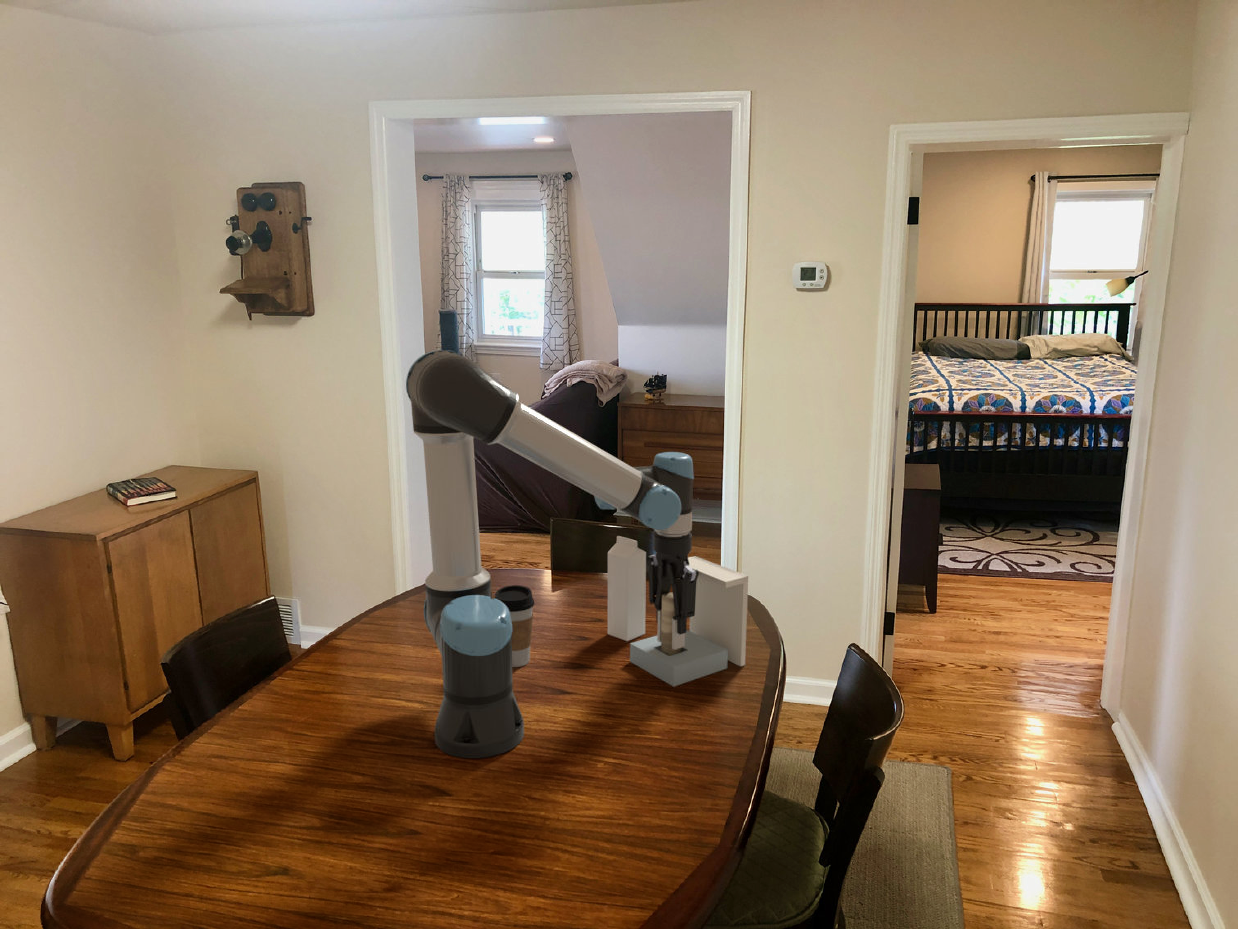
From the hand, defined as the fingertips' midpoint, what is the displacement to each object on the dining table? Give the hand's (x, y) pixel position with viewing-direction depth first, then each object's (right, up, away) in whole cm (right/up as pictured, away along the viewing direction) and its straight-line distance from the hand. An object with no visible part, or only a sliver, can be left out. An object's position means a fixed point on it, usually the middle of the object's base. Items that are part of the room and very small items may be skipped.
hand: (670, 643), depth 179 cm
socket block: (+2, -5, +2) cm, 6 cm away
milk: (-9, -2, +18) cm, 20 cm away
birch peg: (0, -4, +1) cm, 4 cm away
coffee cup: (-32, -5, +4) cm, 32 cm away
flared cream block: (+8, -4, +7) cm, 11 cm away
